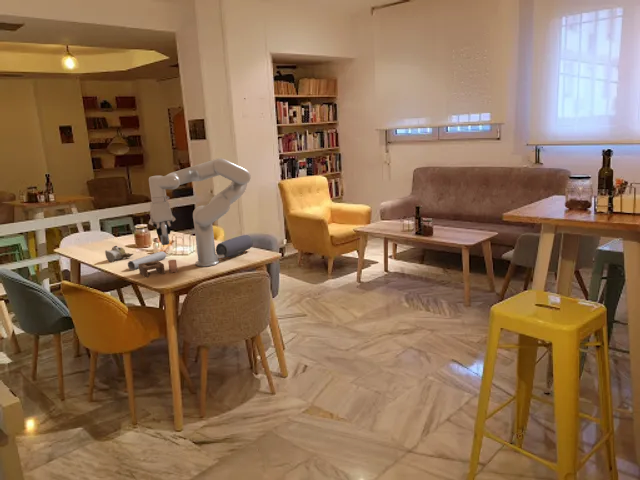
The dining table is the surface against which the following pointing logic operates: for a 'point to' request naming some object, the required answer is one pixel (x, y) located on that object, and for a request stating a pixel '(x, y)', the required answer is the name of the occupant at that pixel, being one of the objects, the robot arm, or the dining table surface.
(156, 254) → the tube
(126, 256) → the ceramic sculpture
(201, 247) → the robot arm
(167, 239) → the steel pin long
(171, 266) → the clay pin short
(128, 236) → the dining table surface
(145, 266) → the walnut bridge
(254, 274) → the dining table surface
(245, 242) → the bluetooth speaker
